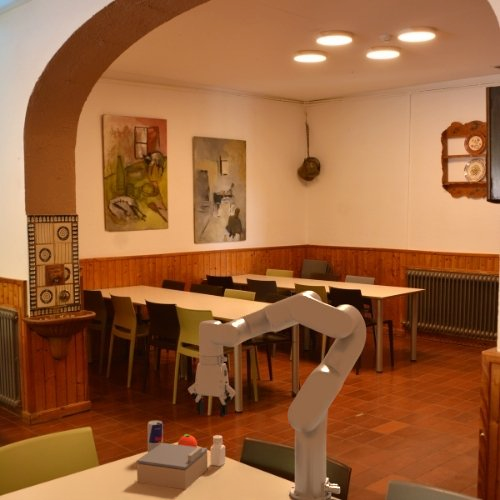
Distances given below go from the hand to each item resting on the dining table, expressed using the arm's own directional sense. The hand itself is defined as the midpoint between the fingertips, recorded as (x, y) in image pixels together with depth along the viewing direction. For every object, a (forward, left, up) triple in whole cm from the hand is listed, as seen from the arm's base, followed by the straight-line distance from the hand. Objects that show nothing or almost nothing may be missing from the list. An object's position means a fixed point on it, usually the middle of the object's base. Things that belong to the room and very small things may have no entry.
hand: (211, 414), depth 208 cm
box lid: (+14, 0, -15) cm, 21 cm away
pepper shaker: (+4, -14, -22) cm, 26 cm away
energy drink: (+28, -14, -22) cm, 38 cm away
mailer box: (+14, 0, -22) cm, 26 cm away
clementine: (+18, -19, -22) cm, 34 cm away
